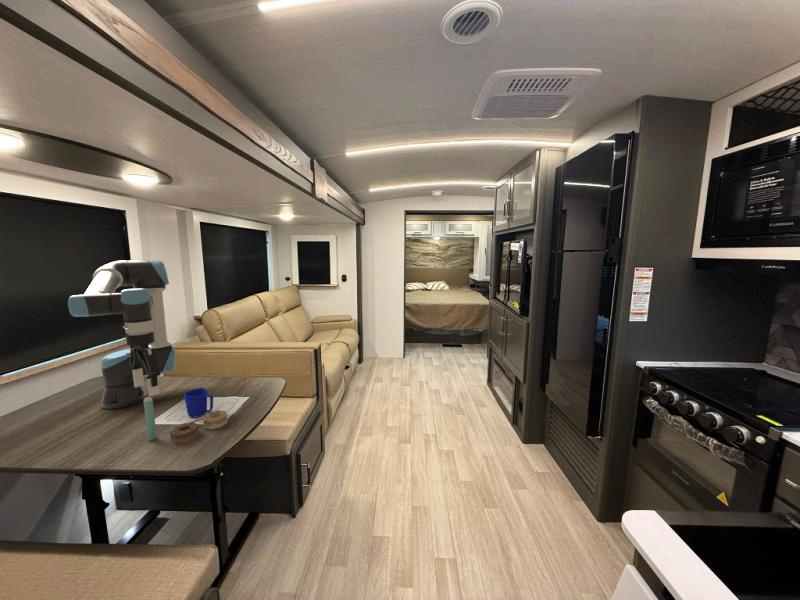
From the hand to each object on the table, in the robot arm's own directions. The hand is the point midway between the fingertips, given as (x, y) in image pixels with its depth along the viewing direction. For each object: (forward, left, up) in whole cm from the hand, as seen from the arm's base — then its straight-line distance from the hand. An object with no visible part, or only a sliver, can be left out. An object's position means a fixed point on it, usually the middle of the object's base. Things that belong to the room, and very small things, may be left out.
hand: (146, 390), depth 112 cm
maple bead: (+9, +18, -19) cm, 28 cm away
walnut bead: (+9, +7, -19) cm, 22 cm away
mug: (-3, +18, -19) cm, 27 cm away
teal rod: (0, 0, -19) cm, 19 cm away
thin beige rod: (0, +14, -19) cm, 24 cm away
